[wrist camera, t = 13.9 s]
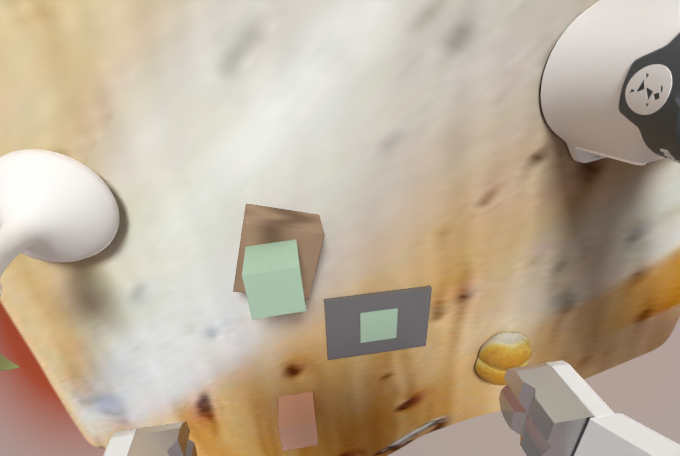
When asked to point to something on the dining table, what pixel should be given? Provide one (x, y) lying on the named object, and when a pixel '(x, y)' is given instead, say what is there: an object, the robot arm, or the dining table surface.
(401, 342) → the card
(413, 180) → the dining table surface
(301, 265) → the walnut base block
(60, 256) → the flower in vase
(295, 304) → the green block
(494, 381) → the bread roll
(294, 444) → the terracotta block
